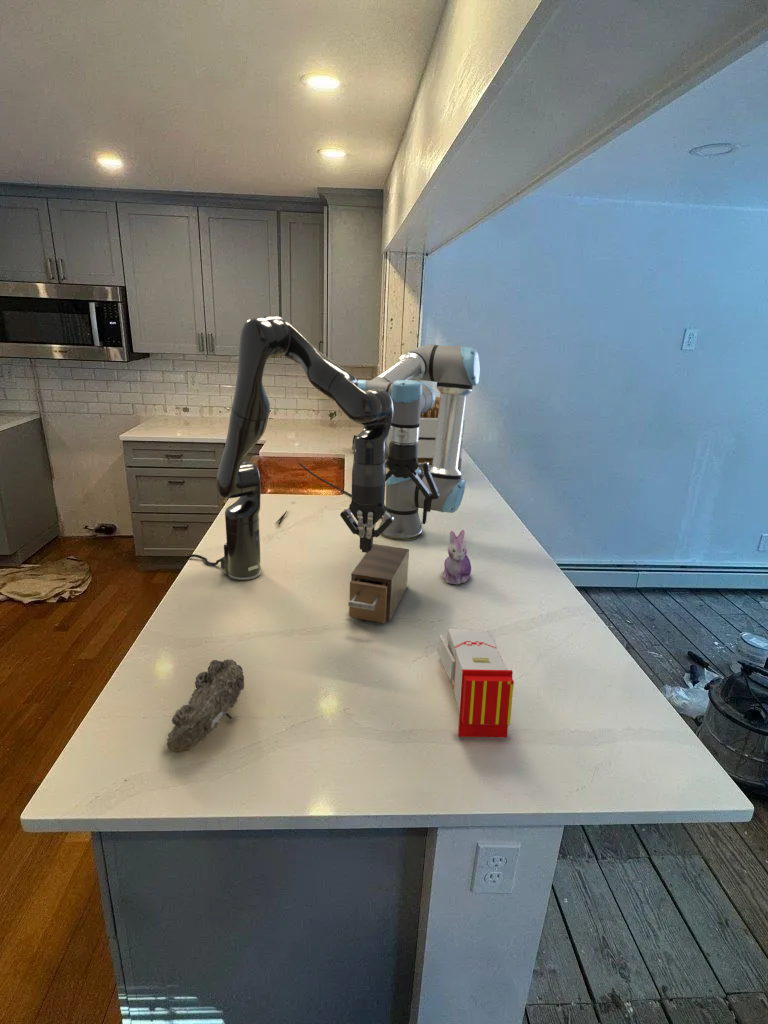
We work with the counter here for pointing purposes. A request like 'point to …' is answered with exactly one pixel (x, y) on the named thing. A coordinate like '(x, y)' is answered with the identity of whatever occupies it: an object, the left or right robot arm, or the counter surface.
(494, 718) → the toy
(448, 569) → the figurine
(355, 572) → the cabinet
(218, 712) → the fossil
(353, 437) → the figurine character
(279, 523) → the feather
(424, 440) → the white tiered storage organizer
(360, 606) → the drawer
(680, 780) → the counter surface
